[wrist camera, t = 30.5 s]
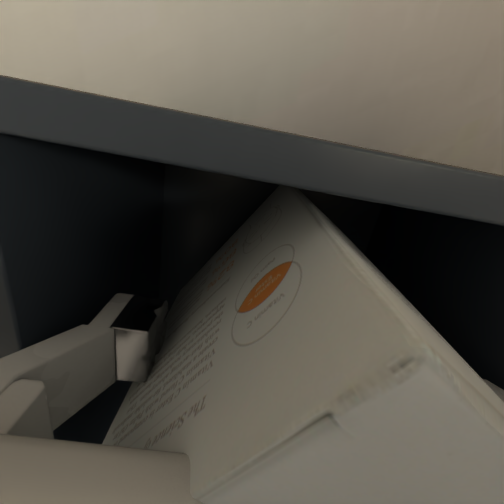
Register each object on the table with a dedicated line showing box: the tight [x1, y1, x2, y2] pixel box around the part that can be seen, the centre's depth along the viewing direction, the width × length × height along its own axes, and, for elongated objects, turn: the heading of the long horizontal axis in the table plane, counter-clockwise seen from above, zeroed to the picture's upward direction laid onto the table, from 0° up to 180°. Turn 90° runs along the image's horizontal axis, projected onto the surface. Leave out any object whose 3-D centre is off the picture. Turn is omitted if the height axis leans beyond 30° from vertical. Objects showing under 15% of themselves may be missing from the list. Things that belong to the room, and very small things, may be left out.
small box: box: [102, 185, 504, 504], centre depth 9 cm, size 8×6×10 cm
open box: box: [0, 75, 504, 444], centre depth 12 cm, size 16×14×11 cm
